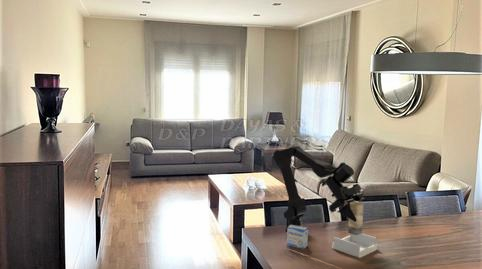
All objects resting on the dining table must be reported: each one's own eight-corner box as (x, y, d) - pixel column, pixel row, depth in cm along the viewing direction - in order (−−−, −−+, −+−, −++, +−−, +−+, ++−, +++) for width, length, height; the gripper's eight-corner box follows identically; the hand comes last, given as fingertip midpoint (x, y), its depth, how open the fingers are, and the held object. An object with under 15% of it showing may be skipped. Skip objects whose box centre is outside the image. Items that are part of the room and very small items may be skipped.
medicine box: (286, 246, 176) (287, 226, 175) (290, 243, 180) (290, 224, 179) (304, 250, 172) (304, 230, 171) (307, 246, 176) (308, 227, 175)
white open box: (332, 249, 173) (332, 236, 173) (349, 242, 182) (350, 229, 181) (360, 259, 163) (360, 245, 163) (377, 250, 172) (377, 238, 172)
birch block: (348, 232, 172) (349, 202, 171) (353, 230, 175) (354, 200, 173) (356, 235, 169) (358, 204, 168) (361, 233, 172) (363, 202, 171)
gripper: (336, 181, 166) (359, 214, 159) (361, 175, 179) (383, 205, 172) (319, 196, 173) (341, 228, 166) (344, 189, 185) (365, 219, 179)
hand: (358, 219), depth 170 cm, fingers closed on birch block, 4 cm apart
